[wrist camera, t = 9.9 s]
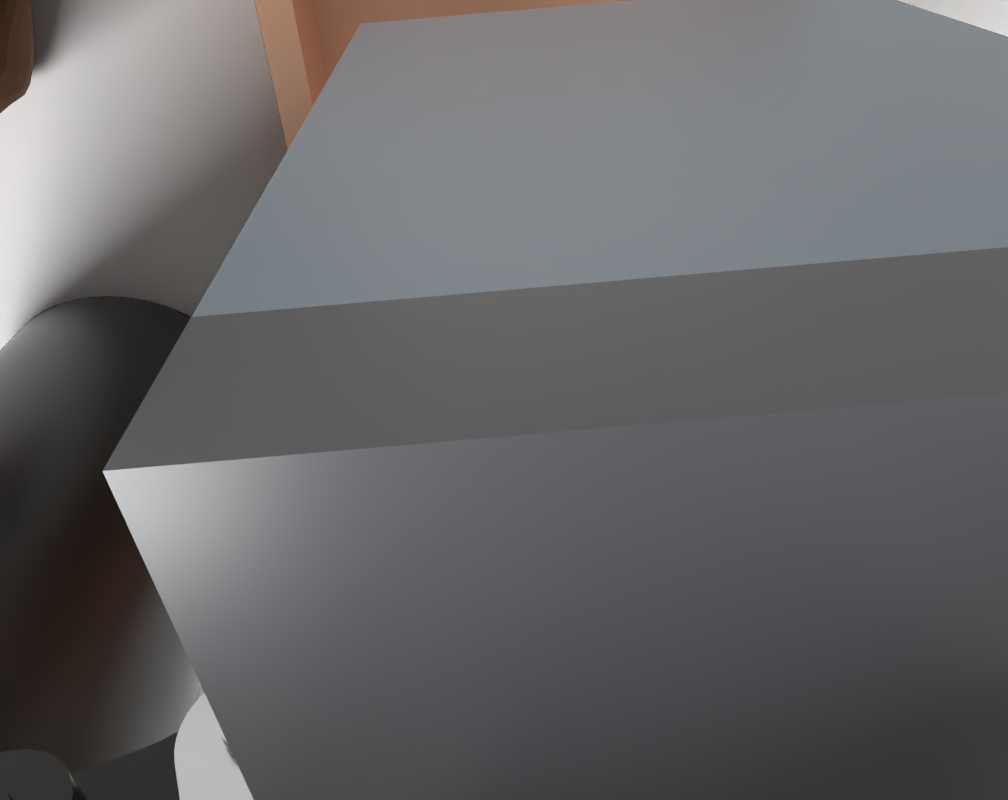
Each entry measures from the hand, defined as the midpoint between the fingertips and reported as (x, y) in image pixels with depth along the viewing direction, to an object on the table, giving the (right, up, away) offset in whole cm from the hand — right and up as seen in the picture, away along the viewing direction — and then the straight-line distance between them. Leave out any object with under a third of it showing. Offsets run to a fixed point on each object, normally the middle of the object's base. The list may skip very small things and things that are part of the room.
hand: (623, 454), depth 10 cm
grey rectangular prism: (0, +1, +2) cm, 2 cm away
